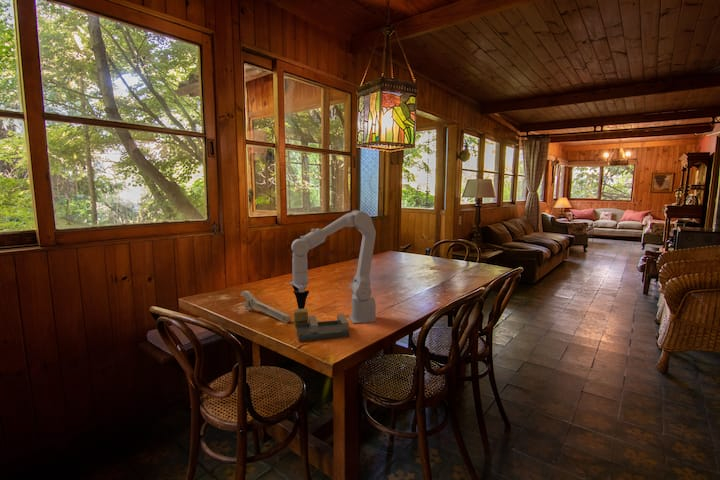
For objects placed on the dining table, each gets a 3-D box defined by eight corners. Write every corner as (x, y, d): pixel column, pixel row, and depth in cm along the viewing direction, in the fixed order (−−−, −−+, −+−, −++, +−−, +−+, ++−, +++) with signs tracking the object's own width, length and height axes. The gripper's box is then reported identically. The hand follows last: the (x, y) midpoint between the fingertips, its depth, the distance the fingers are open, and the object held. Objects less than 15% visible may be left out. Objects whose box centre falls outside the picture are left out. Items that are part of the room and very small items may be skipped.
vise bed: (343, 324, 144) (342, 312, 144) (349, 337, 133) (349, 323, 132) (296, 328, 140) (296, 315, 139) (298, 341, 129) (298, 328, 128)
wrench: (286, 330, 146) (239, 306, 163) (290, 329, 148) (243, 305, 164) (288, 311, 144) (240, 289, 161) (291, 310, 146) (243, 288, 162)
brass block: (307, 323, 146) (306, 308, 145) (308, 326, 142) (307, 311, 141) (294, 324, 145) (293, 309, 144) (294, 327, 141) (294, 312, 140)
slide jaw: (315, 324, 140) (315, 315, 140) (318, 334, 131) (318, 325, 131) (308, 325, 140) (308, 316, 139) (311, 335, 131) (311, 325, 130)
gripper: (288, 267, 146) (289, 300, 148) (290, 276, 132) (291, 312, 134) (306, 266, 148) (306, 299, 150) (310, 275, 134) (310, 311, 136)
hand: (300, 305), depth 142 cm, fingers open, 7 cm apart
